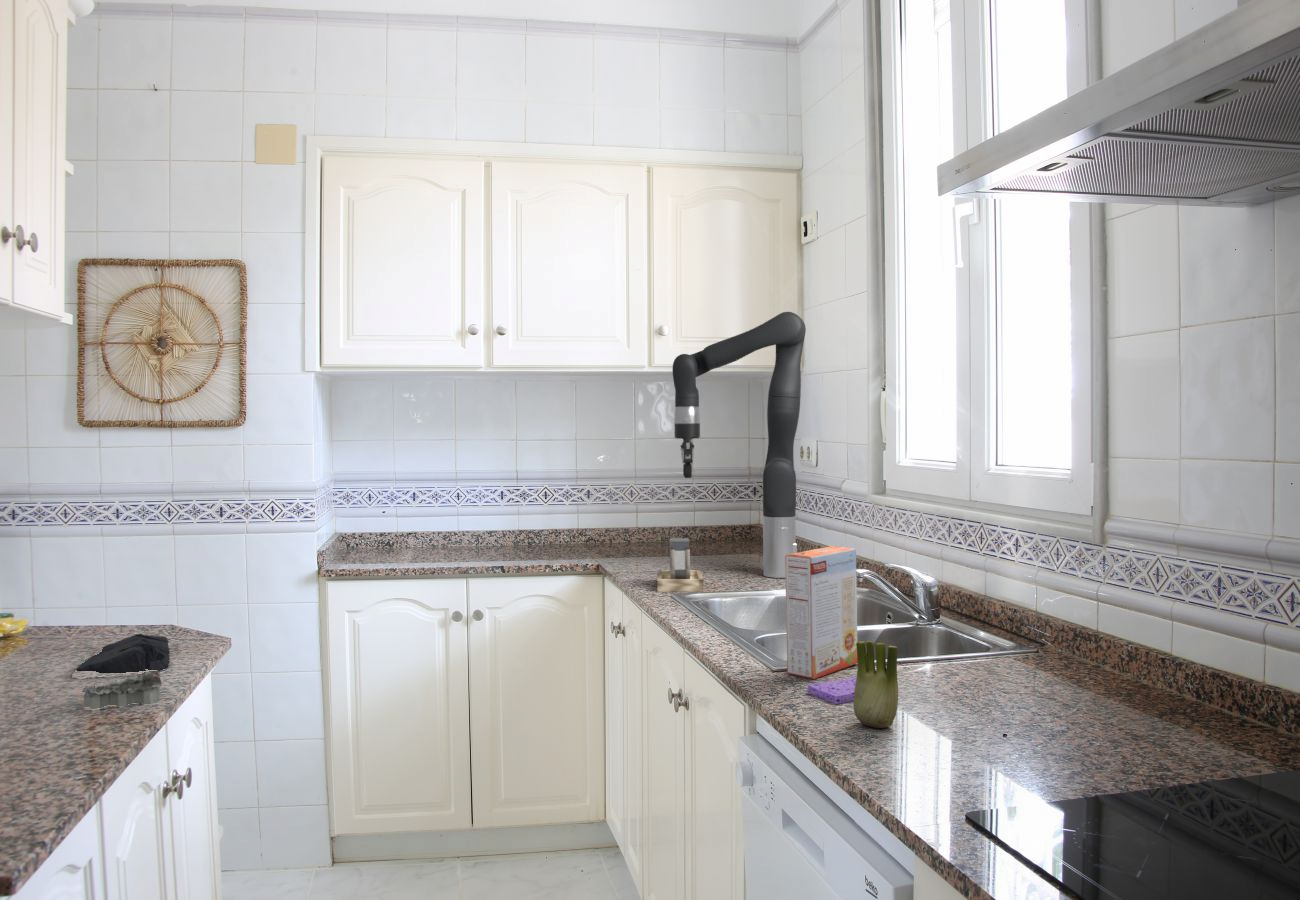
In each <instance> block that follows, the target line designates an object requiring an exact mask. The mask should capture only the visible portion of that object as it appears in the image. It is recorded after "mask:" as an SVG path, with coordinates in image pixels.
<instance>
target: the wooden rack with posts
mask: <svg viewBox="0 0 1300 900" xmlns="http://www.w3.org/2000/svg"><path fill="white" fill-rule="evenodd" d="M656 576H657V577H656V578H657V579H656V581H657V585H656V587H657V592H662V593H663V592H664V593H665V592H700V591H699V590H704V577H703V573H702V571H701V569H698V570H697V569H693V570H692V569H691V550H690V548H689V549H686V550H685V579H675V550H674V549H671V550H670V549H669V569H667V570H663V569H662V570H657V575H656ZM704 591H705V590H704Z"/></svg>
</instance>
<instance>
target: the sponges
mask: <svg viewBox="0 0 1300 900" xmlns="http://www.w3.org/2000/svg"><path fill="white" fill-rule="evenodd" d="M856 678H857V676H855V677H849V678H845V679H836V680H834V681H833V680H830V681H821V682H816V683H809V684H807V693H808V694H809V695H811V696H812V695H813V696H815V697H817V698H820V699H823V700H824V701H828V702H830V703H833V704H835V705H838V704H843V703H845V704H846V703H849V702H854V689H855V684H856Z"/></svg>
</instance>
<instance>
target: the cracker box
mask: <svg viewBox="0 0 1300 900" xmlns="http://www.w3.org/2000/svg"><path fill="white" fill-rule="evenodd" d="M785 575H786V578H785V610H786V611H785V615H786V618H785V620H786V621H785V622H786V625H785V626H786V664H787V666H786V670H787V671H786V672H787V674H788V675H792V676H797V677H801V678H806V679H811V680H815V679H818V678H821V677H823V676H826V675H829V674H832V673H834V672H837V671H840V670H843V669H846V668H848V667H851V666H854V665H858V664H857V647H856V643H857V642H858V600H857V581H858V580H857V548H852V547H842V546H837V545H836V546H834V545H833V546H827V547H825V546H824V547H821V548H814V549H810V550H805V551H799V552H798V551H797V553H792V554H787V555H785Z"/></svg>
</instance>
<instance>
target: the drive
mask: <svg viewBox="0 0 1300 900" xmlns="http://www.w3.org/2000/svg"><path fill="white" fill-rule="evenodd" d="M671 549H674V550H675V579H685V550H686V549H689V550H690V539H689V537H681V538H679V537H670V538H669V551H670V550H671Z"/></svg>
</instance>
